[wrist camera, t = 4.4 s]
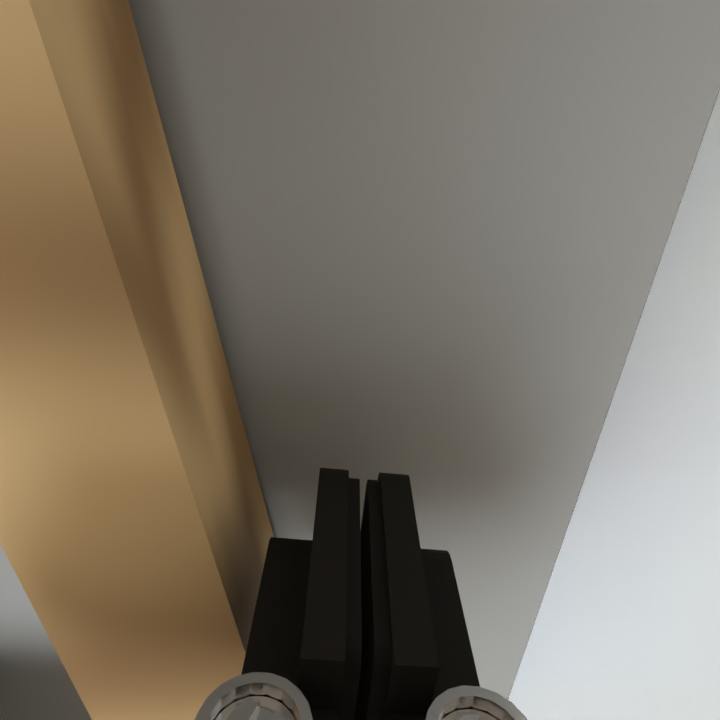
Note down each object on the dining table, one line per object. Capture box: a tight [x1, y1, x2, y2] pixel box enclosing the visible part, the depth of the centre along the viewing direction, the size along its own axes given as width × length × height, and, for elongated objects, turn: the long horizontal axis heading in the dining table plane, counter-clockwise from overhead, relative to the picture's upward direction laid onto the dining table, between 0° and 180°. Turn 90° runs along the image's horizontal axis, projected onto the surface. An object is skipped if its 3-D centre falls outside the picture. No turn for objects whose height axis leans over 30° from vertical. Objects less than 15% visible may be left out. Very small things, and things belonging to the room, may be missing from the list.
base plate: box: [0, 0, 720, 720], centre depth 12 cm, size 30×19×2 cm, turn 173°
